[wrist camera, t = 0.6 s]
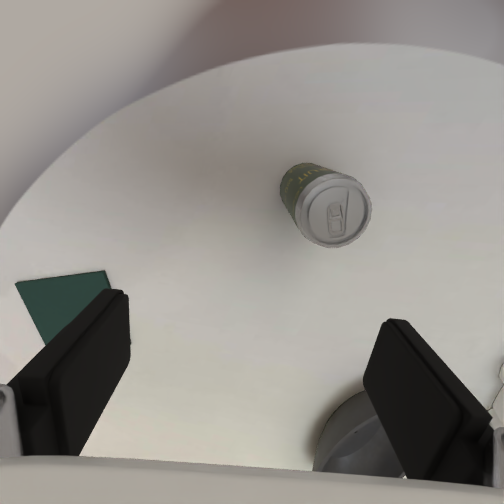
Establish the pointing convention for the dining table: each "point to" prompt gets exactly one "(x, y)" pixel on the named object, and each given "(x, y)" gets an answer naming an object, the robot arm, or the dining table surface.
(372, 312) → the dining table surface
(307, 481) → the robot arm
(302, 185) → the beer can
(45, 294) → the front mat
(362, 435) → the bowl
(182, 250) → the dining table surface
